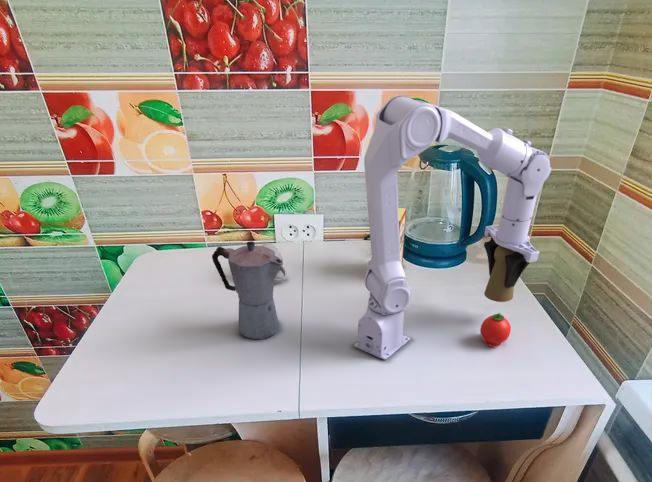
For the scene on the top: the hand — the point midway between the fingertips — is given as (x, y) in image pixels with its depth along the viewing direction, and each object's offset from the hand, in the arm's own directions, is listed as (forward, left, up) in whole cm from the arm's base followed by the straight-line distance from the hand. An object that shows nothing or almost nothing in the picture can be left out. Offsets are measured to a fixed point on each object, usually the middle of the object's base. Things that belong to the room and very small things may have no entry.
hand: (501, 280), depth 98 cm
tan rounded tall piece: (0, 0, -4) cm, 4 cm away
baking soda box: (+5, +33, -10) cm, 34 cm away
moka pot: (-35, +40, -10) cm, 54 cm away
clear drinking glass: (-16, +56, -10) cm, 59 cm away
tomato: (-8, -3, -10) cm, 13 cm away
